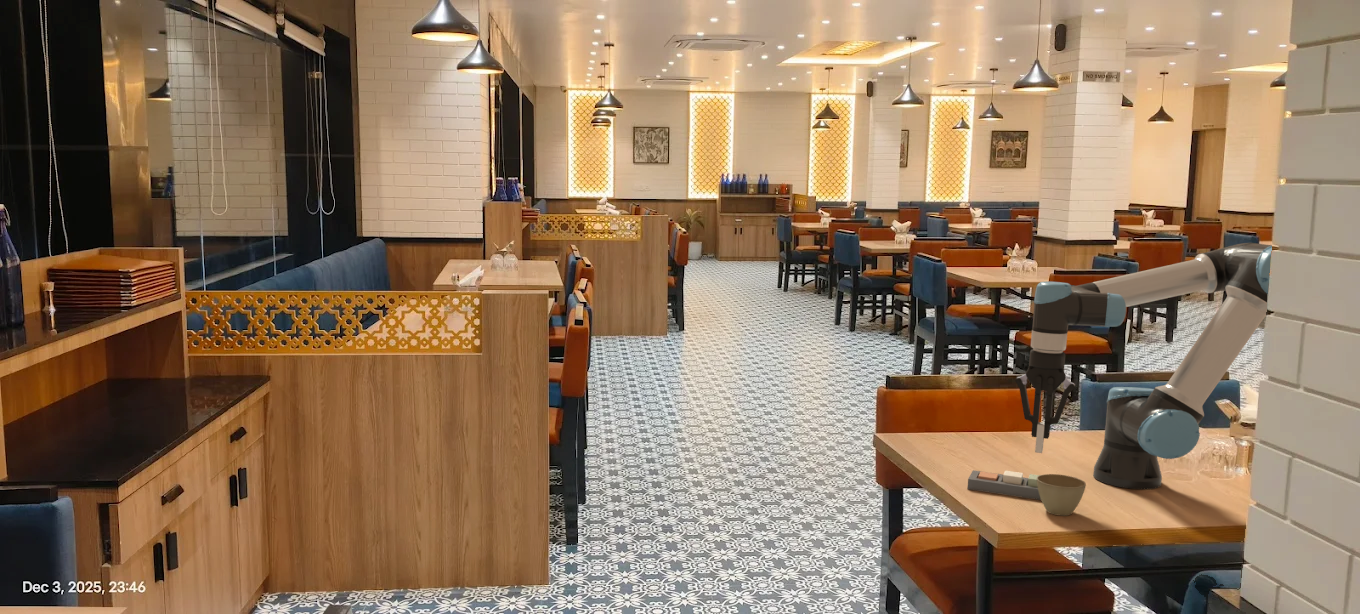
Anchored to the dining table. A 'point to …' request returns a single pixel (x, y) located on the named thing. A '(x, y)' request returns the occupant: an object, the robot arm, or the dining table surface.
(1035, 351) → the robot arm
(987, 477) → the peach key
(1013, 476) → the cream key
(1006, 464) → the dining table surface
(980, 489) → the keyguard
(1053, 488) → the flower pot
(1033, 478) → the sage key
